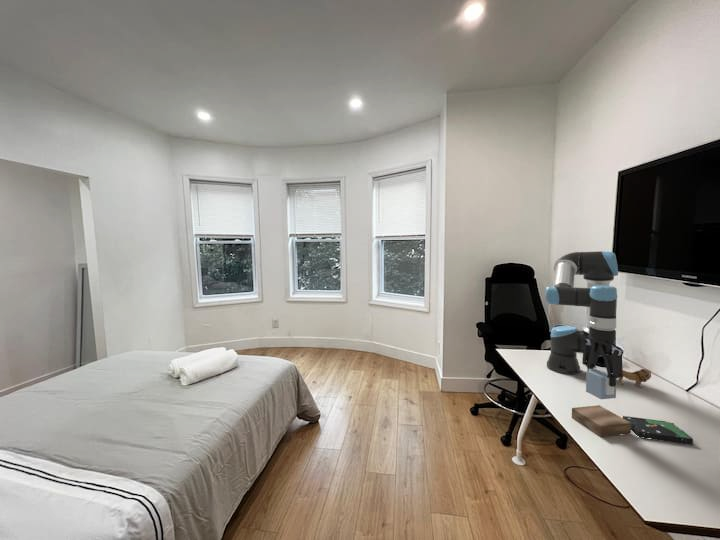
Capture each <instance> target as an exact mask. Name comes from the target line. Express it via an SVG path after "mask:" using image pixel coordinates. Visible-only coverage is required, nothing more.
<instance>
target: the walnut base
mask: <svg viewBox="0 0 720 540" xmlns="http://www.w3.org/2000/svg"><path fill="white" fill-rule="evenodd" d="M571 419H573V420H574V421H576V422H577V423H578V424H580V425H582V426H583V427H585V428H586V429H587V430H589V431H591V432H592V433H594V434H595V435H597V436H598V437H600V438H607V437H614V436H613V435H616V436H621V435H620V434H625V435H630V434H629V433H631V434H632V431H631V423H630V422H629V421H627V420H625V419H623V417H621V416H620V415H617V414H616V413H614V412H612V411H610V410H609V409H606V408H605V407H603V406H602V405H600V404H599V405H590V406H589V405H588V406H578V407H572V408H571ZM606 436H607V437H606Z"/></svg>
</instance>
